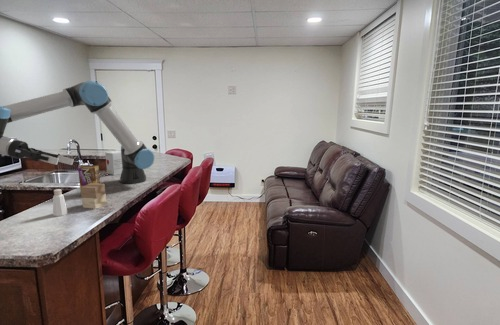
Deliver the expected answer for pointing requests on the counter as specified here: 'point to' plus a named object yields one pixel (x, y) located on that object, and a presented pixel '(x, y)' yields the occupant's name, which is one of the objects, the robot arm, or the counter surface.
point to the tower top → (93, 190)
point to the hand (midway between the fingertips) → (65, 161)
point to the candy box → (88, 175)
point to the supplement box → (114, 162)
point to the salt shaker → (59, 203)
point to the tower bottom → (94, 202)
